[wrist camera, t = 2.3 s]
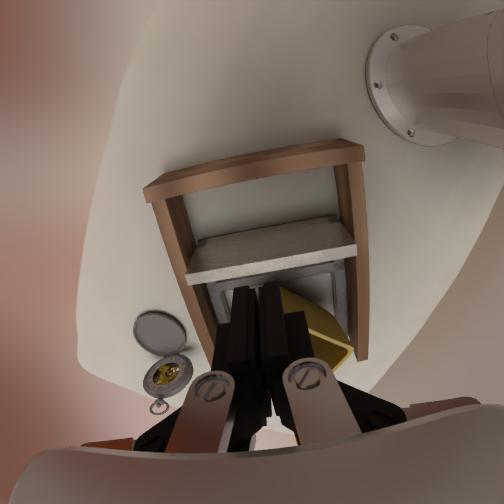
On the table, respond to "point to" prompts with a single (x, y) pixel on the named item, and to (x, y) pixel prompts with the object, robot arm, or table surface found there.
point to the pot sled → (274, 260)
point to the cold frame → (253, 167)
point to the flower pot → (320, 330)
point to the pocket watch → (163, 344)
